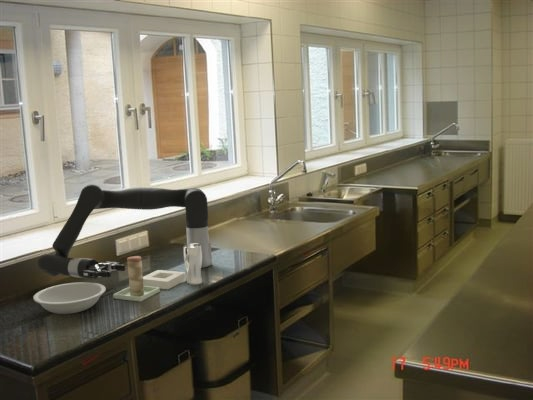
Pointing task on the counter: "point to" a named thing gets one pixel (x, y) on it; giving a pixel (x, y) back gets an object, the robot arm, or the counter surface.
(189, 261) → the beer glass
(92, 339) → the counter surface
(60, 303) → the soup bowl
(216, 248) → the counter surface
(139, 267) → the wooden plug
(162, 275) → the socket block
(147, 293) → the green tray
